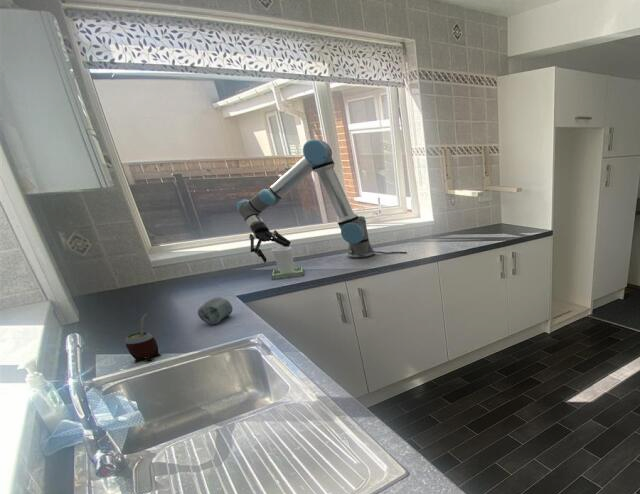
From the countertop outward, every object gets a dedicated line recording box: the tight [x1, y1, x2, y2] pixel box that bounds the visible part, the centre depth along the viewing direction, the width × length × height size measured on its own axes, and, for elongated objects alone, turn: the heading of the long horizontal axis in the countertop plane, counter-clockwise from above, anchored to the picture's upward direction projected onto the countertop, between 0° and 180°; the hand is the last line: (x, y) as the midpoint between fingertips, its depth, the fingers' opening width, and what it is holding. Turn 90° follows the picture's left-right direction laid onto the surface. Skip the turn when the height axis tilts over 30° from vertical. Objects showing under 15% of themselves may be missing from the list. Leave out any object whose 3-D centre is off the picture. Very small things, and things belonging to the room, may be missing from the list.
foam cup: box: [270, 246, 295, 274], centre depth 217 cm, size 10×9×13 cm
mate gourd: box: [124, 311, 161, 363], centre depth 129 cm, size 8×8×15 cm
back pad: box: [271, 266, 304, 280], centre depth 220 cm, size 14×12×2 cm
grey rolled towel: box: [197, 296, 234, 326], centre depth 160 cm, size 14×10×10 cm
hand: (278, 258), depth 221 cm, fingers open, 13 cm apart
